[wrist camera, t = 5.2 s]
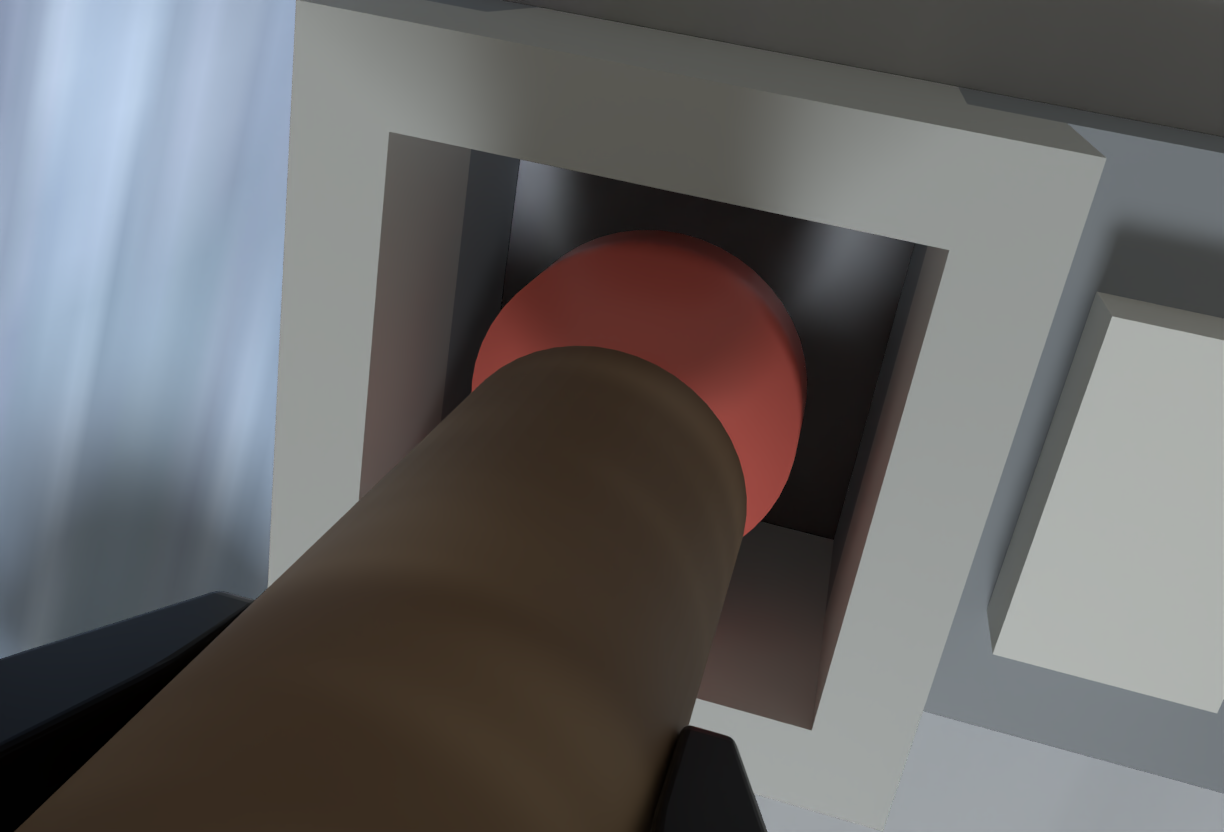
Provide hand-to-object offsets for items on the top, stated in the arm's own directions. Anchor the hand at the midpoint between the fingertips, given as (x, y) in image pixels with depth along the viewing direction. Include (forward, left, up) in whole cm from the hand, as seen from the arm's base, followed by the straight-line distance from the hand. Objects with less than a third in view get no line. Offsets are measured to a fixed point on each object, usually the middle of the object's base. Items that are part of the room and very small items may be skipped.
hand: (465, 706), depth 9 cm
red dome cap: (0, 0, -9) cm, 9 cm away
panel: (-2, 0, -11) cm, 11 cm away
